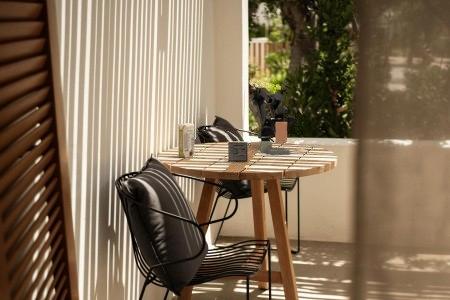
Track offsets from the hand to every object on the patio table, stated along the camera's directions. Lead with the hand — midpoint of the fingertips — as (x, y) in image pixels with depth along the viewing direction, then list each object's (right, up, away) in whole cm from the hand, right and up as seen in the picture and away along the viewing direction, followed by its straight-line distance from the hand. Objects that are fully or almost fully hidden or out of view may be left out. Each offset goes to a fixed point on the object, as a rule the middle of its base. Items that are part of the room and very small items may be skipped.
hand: (282, 131), depth 460 cm
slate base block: (-2, -14, +3) cm, 14 cm away
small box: (-26, -17, -26) cm, 41 cm away
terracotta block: (0, -6, +2) cm, 7 cm away
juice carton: (-56, -15, -9) cm, 59 cm away
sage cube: (-9, -12, +13) cm, 20 cm away
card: (+12, -11, +16) cm, 23 cm away
